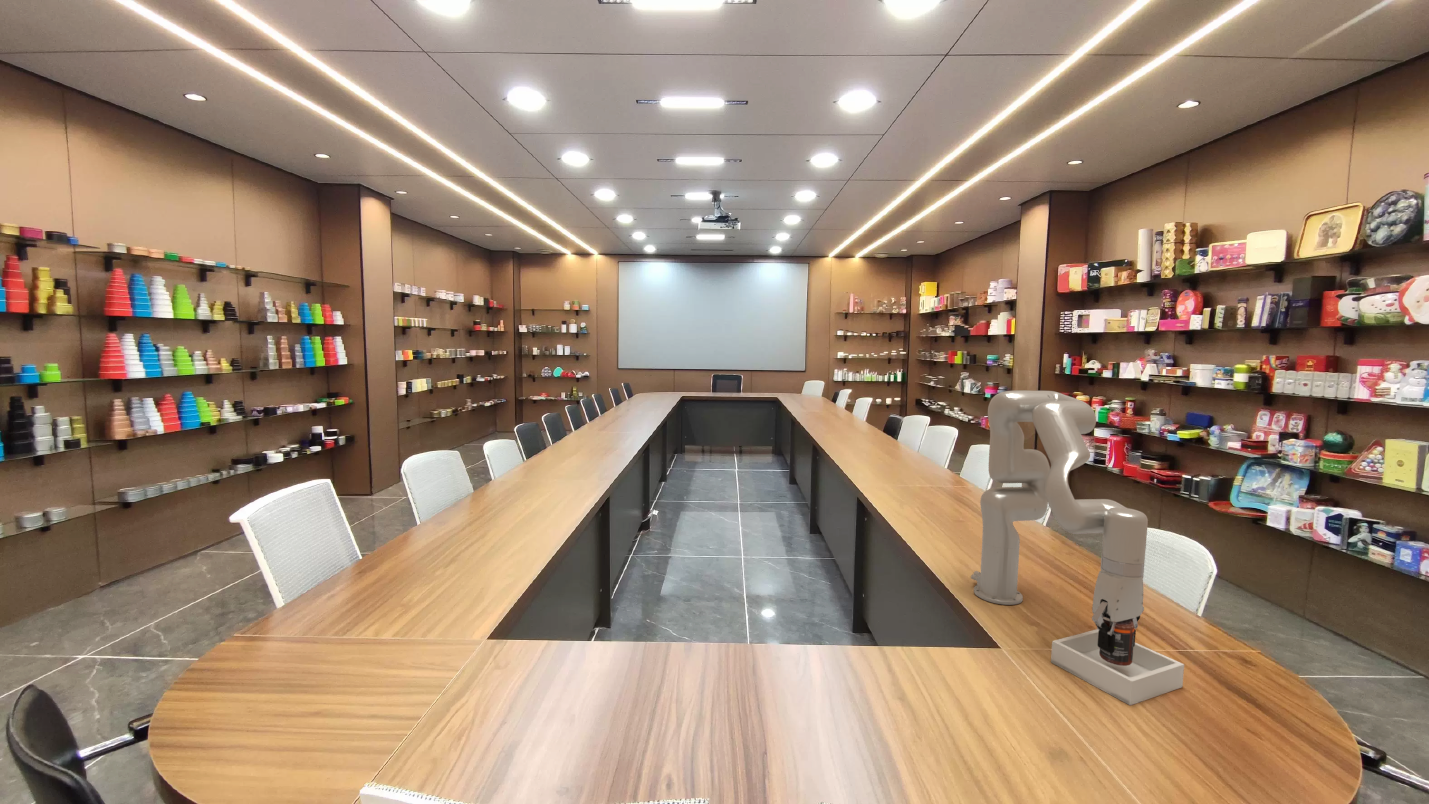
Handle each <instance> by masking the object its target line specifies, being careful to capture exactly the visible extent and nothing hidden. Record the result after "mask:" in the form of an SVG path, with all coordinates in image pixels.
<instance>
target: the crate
mask: <svg viewBox="0 0 1429 804" xmlns="http://www.w3.org/2000/svg"><path fill="white" fill-rule="evenodd" d="M1098 632H1099V630H1098V629H1097V628H1096V629H1092V630H1089V631H1085V632H1081V633H1077V634H1074V635H1070V636H1067V637H1063V638H1059V639H1055V640H1052V643H1051V657H1050V663H1051V664H1052V665H1055V666H1057V667H1059V668H1061V669H1062V670H1064V671H1066V672H1068V673H1070V674H1071V675H1073V676H1075V677H1077V678H1079V679H1080V680H1083V682H1084V681H1085V682H1086V683H1088V684H1090V685H1092V686H1093V687H1095V688H1098V689H1099V690H1101V691H1103V692H1105V693H1106V694H1108V695H1110V696H1112V697H1114V698H1116V699H1117V700H1120V701H1121V702H1123V703H1125V704H1126V705H1128V706H1133V705H1136V704H1139V703H1143V702H1144V701H1146V700H1149V699H1152V698H1155V697H1158V696H1161V695H1164V694H1166V693H1170V692H1172V691H1175V690H1178V689H1181V688H1183V685H1184V684H1183V683H1184V673H1185V672H1184V671H1185V663H1182V662H1180V661H1177V660H1176V659H1173V658H1171V657H1170V656H1169V657H1168V656H1166V655H1164V654H1162V653H1159V652H1158V651H1155V650H1152V649H1151V648H1148V647H1146V646H1144V645H1142V644H1140V643H1137V642H1135V646H1134V647H1133V659H1132V663H1131V664H1130V665H1127V666H1120V665H1115V664H1112V663H1109V662H1107V661H1105V660H1104V659H1102V658H1101V657H1100V655H1099V647H1098Z"/></svg>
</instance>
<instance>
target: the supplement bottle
mask: <svg viewBox="0 0 1429 804" xmlns="http://www.w3.org/2000/svg"><path fill="white" fill-rule="evenodd" d="M1106 617H1107V618H1110V616H1109V615H1106ZM1105 623H1106V624H1107V625H1108V627H1109V625H1110V622H1109V621H1107V620H1105ZM1134 629H1135V627H1134V623H1133V622H1132V621H1131V620H1130V619H1128V620H1124V621H1120V622H1117V623H1116V626H1115V630H1114V633H1113V634H1114V635H1115V647H1114V653H1110V652H1108V651H1106V650H1103V649H1101V648H1099V655H1100V657H1101V658H1102V659H1104V660H1105V661H1107V662H1109V663H1112V664H1115V665H1120V666H1127V665H1130V664H1131V663H1132V659H1133V645H1134ZM1135 630H1136V629H1135Z"/></svg>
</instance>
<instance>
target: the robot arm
mask: <svg viewBox="0 0 1429 804" xmlns="http://www.w3.org/2000/svg"><path fill="white" fill-rule="evenodd" d="M987 418H988V419H987V420H988V426H989V434H990V435H989V436H990V437H989V449H988V450H989V452H988V474H989V477H990V479H991V480H992V481H994V482H996V483H1000V484H1021V486H997V487H992V488H988V489H986V490H985V491H984V492H983V493H982V494H981V496H980V500H979V503H980V512H981V519H982V538H981V543H982V544H981V556H980V557H981V558H980V559H981V561H980V571H978V570H974V572H973V574H971V575H970V579H972V580H974V581H976V585H974V587H973V593H974V594H975V596H977V597H978V598H980V599H981V600H984V601H986V602H989V603H993V604H996V605H998V604H999V605H1004V606H1012V605H1018V604H1021V603H1022V602H1023V599H1024V597H1023V594H1022V593H1021V592H1020V591H1019V590H1018V578H1019V575H1018V574H1019V564H1020V563H1019V562H1020V560H1019V559H1020V547H1021V545H1020V543H1021V542H1020V540H1021V539H1020V534H1019V533H1018V530H1017V529H1016V528H1015V526H1014V522H1025V521H1026V522H1027V521H1028V522H1029V521H1037V520H1040V519H1043V517H1044V516H1045V515H1046V512H1047V509H1048V506H1049V508H1050V511H1051V514H1052V515H1053V518H1054V519H1055V521H1056V523H1057V524H1058V526H1059V527H1060V528H1062V529H1063V531H1065V532H1067V533H1069V534H1074V535H1075V534H1078V535H1080V534H1082V535H1083V534H1102V544H1101V545H1102V546H1101V556H1100V557H1101V559H1100V570H1099V571H1098V575H1097V578H1096V582H1095V587H1094V592H1093V599H1092V608H1091V609H1092V614H1093V615H1092V616H1091V620H1092V621H1093V623H1094V624H1095V626H1096V629H1098V630H1099V632H1098V647H1099V648H1101V649H1103V650H1106V651H1108V652H1110V653H1114V647H1115V635H1114V634H1113V633H1114V630H1115V626H1116V623H1117V622H1120V621H1124V620H1128V619H1130V620H1131V621H1132V622H1133V623H1134V627H1135V629H1134V645H1133V647H1134V646H1135V643H1136V635H1137V634H1136V632H1137V629H1138V626H1139V625H1138V621H1139V620H1141V615H1142V614H1143V612H1144V611H1145V606H1144V576H1145V575H1144V572H1145V563H1146V562H1145V561H1146V560H1145V559H1146V550H1147V549H1146V547H1147V535H1148V534H1147V533H1148V524H1149V522H1148V521H1149V520H1148V516H1147V515H1146V514H1145V513H1144V512H1143V511H1140V510H1137V509H1134V508H1129V507H1126V506H1124V505H1123V504H1121V503H1119V502H1117V501H1115V500H1113V499H1108V498H1096V499H1095V498H1094V499H1092V498H1089V499H1087V498H1086V499H1085V498H1083V499H1080V498H1079V499H1075V497H1074V495H1073V493H1072V491H1071V490H1072V489H1070V485H1069V474H1070V472H1071V471H1073V470H1075V469H1077V468H1079V467H1081V466H1083V465H1084V464H1086V463H1087V462H1088V461H1089V460H1090V458H1091V451H1090V449H1089V448H1088V446H1087V444H1086V442H1085V440H1084V437H1083V436H1082V435H1086V434H1089V433H1090V432H1092V431H1093V430H1094V429H1095V427H1096V423H1097V416H1096V413H1095V411H1094V409H1093V408H1092V406H1091V405H1089V403H1086V402H1085V401H1084V400H1080V399H1078V398H1075V397H1072V396H1069V395H1067V394H1064V393H1061V392H1057V391H1054V390H1025V389H1024V390H1006V391H1001V392H999V393H997V394H995V395H994V396H993V397H992V398H991V400H990V401H989V403H988V407H987ZM1020 422H1021V423H1023V422H1024V423H1025V422H1026V423H1033V425H1034V428H1035V430H1036V433H1037V434H1038V438H1039V439H1040V441H1041V444H1042V446H1043V448H1044V451H1045V452H1046V454H1044V453H1043V452H1042V451H1040V450H1037V449H1032V448H1025V447H1024V446H1025V444H1024V443H1025V434H1024V432H1023V429H1022V427H1021V426H1020V424H1019V423H1020ZM1047 457H1048V458H1047ZM1049 462H1050V463H1049ZM1106 615H1109V616H1110V618H1107V617H1106ZM1105 620H1107V621H1109V622H1110V625H1109V627H1108V625H1107V624H1106V623H1105Z"/></svg>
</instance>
